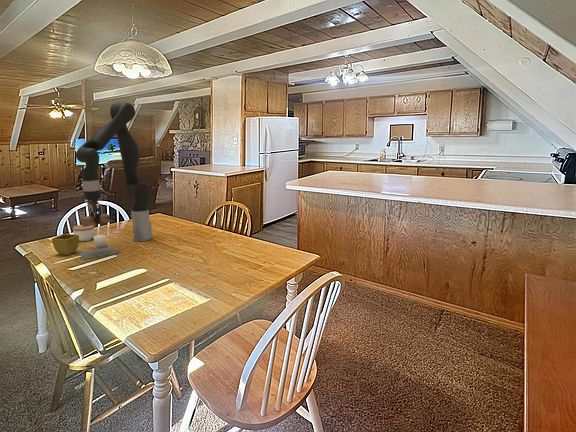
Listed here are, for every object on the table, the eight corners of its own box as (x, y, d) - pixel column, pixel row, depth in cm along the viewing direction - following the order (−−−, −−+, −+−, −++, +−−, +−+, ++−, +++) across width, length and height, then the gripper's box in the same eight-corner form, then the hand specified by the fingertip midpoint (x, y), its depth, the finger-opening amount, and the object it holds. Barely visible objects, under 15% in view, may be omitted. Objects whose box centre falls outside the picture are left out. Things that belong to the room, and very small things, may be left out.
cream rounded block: (105, 244, 203) (103, 233, 201) (108, 246, 198) (107, 236, 197) (93, 246, 199) (92, 235, 197) (96, 249, 194) (95, 238, 193)
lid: (106, 220, 191) (106, 213, 190) (110, 222, 186) (109, 215, 185) (81, 224, 183) (80, 217, 182) (84, 226, 178) (83, 219, 178)
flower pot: (68, 257, 182) (66, 239, 180) (53, 255, 184) (50, 238, 182) (81, 251, 190) (79, 234, 188) (66, 250, 192) (64, 233, 190)
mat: (111, 247, 198) (111, 246, 198) (119, 252, 189) (119, 252, 189) (78, 253, 187) (78, 252, 187) (85, 259, 178) (84, 258, 178)
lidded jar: (89, 236, 218) (87, 220, 215) (99, 239, 211) (97, 223, 209) (70, 240, 209) (68, 224, 207) (79, 243, 203) (77, 227, 201)
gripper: (104, 190, 178) (108, 224, 182) (95, 186, 188) (99, 218, 192) (87, 192, 173) (92, 226, 177) (79, 188, 183) (83, 221, 187)
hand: (96, 222), depth 184 cm, fingers closed on lid, 6 cm apart
